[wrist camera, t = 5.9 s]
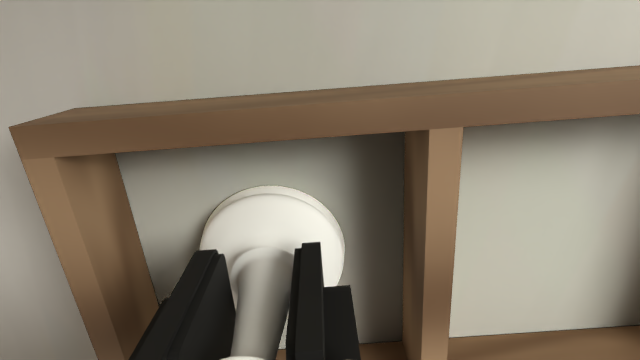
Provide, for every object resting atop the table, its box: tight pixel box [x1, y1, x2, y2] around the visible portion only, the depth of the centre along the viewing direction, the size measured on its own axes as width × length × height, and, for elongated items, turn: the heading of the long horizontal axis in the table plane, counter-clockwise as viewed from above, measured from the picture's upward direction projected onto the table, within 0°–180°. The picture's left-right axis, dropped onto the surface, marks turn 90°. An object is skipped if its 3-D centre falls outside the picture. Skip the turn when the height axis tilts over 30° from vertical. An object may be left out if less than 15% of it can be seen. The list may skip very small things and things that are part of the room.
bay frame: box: [9, 66, 640, 360], centre depth 11 cm, size 11×20×2 cm, turn 94°
